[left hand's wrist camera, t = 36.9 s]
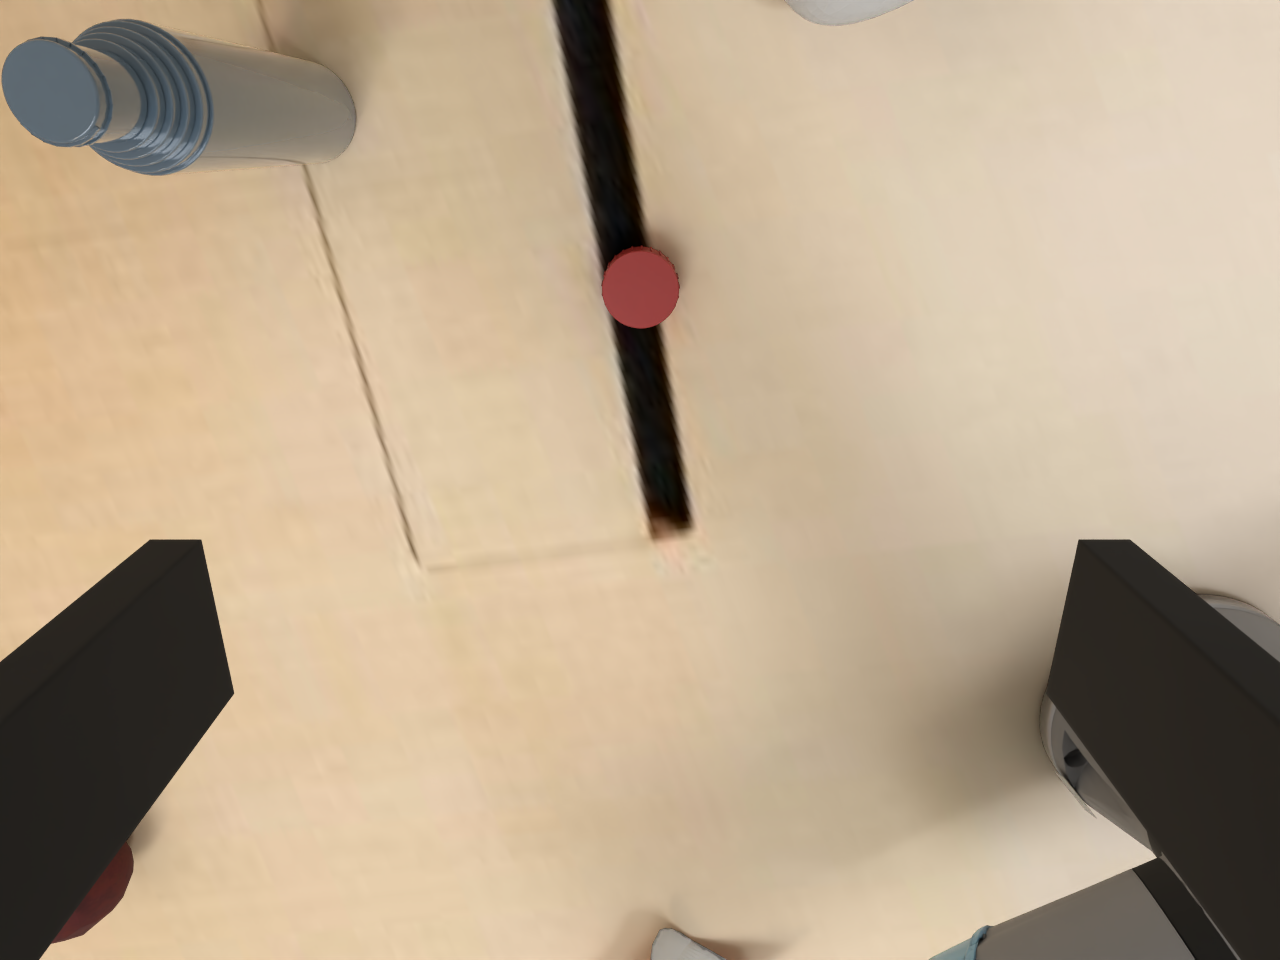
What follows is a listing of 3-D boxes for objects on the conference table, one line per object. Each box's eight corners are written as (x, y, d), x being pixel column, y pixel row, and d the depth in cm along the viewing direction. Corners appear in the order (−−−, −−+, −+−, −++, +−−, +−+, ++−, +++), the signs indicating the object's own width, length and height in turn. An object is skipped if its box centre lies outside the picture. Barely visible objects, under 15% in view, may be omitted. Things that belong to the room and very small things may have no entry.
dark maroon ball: (16, 797, 54) (-69, 887, 48) (133, 786, 54) (64, 875, 47) (59, 882, 57) (-17, 979, 51) (170, 872, 57) (109, 968, 50)
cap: (599, 318, 43) (598, 326, 41) (605, 241, 42) (604, 245, 40) (674, 325, 43) (675, 333, 41) (682, 248, 42) (684, 253, 40)
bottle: (240, 108, 39) (-73, 83, 22) (302, 37, 38) (25, -47, 21) (313, 184, 41) (71, 217, 23) (375, 117, 40) (170, 100, 22)
